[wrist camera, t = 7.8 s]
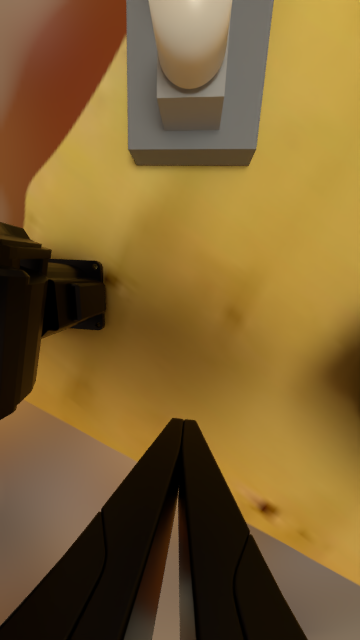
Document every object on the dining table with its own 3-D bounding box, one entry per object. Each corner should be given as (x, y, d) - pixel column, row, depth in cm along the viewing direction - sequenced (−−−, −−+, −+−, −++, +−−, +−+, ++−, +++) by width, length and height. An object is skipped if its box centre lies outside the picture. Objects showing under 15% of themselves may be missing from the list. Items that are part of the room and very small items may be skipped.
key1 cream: (164, 124, 13) (144, 33, 8) (166, 56, 12) (145, -92, 7) (218, 124, 13) (231, 28, 8) (223, 54, 12) (241, -102, 7)
